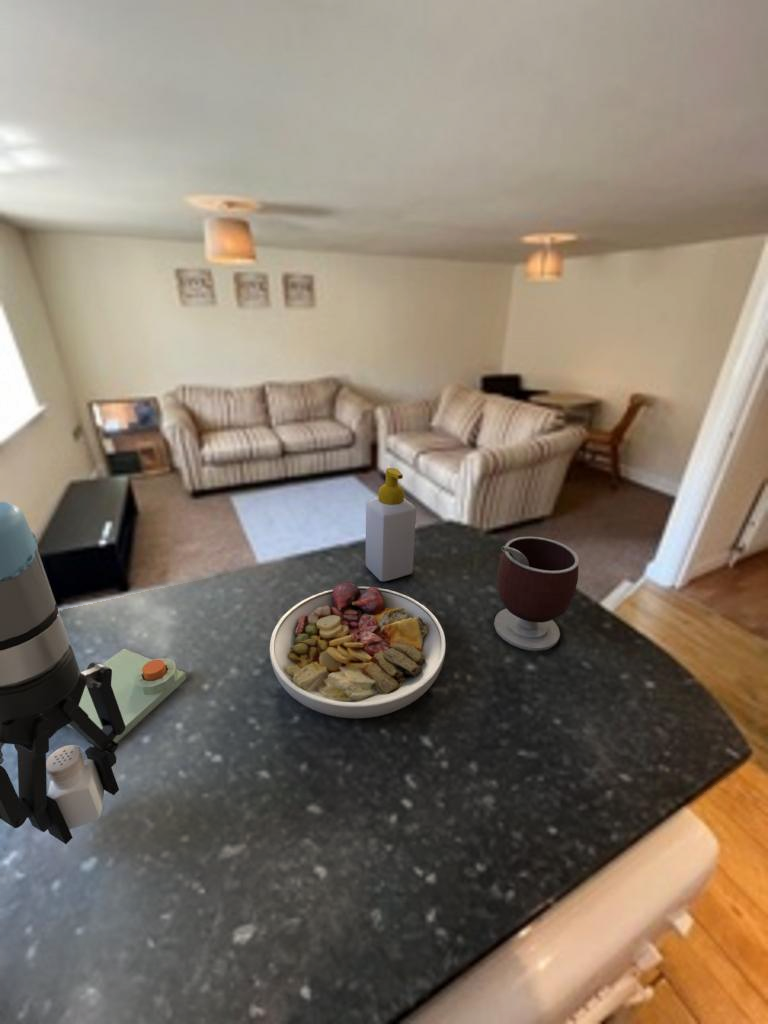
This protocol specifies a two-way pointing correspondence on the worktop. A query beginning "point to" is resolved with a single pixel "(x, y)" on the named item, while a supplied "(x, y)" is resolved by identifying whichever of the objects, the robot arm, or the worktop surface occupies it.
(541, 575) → the mate gourd
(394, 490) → the soap bottle
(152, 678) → the button
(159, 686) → the scale
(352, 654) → the bowl
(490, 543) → the worktop surface
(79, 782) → the pepper shaker
